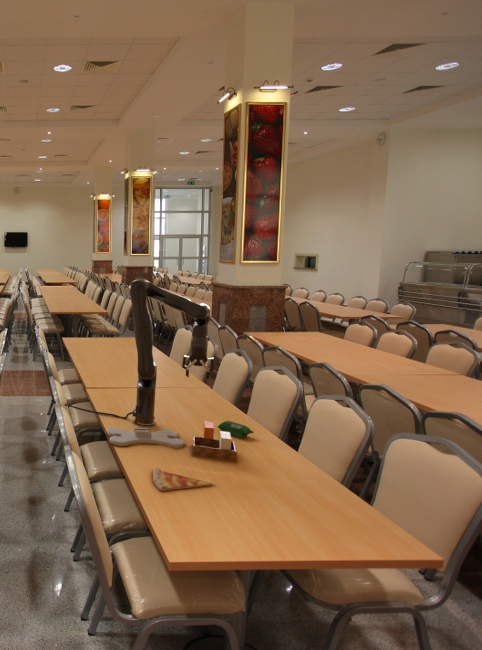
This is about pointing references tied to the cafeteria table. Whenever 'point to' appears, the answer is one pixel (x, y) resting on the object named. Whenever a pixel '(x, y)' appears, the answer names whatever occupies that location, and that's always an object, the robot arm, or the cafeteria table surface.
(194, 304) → the robot arm
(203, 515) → the cafeteria table surface
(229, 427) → the snack package
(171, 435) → the holder
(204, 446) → the brown wooden tray
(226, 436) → the block
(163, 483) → the pizza slice
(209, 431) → the block
